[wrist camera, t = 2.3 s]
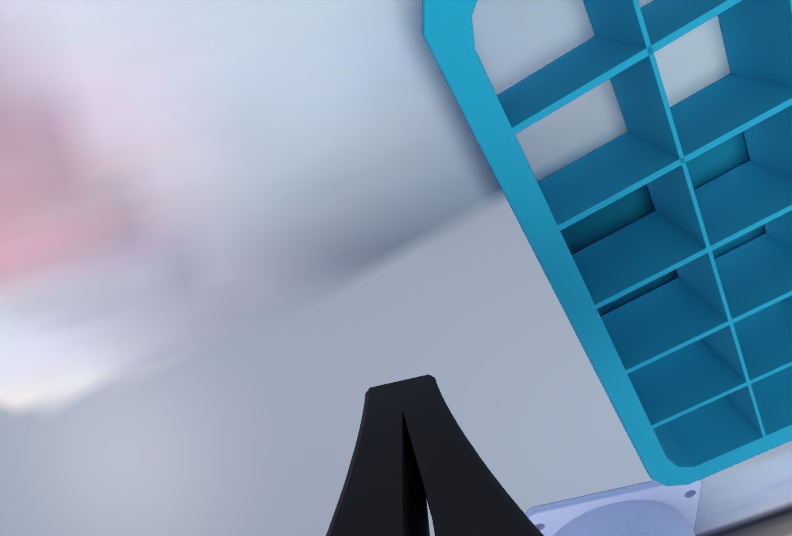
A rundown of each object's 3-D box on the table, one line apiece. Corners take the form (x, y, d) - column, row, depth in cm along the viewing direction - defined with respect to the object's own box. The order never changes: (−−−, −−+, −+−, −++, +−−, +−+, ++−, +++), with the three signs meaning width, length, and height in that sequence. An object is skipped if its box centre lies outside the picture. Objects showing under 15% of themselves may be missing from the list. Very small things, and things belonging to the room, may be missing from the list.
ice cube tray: (850, -335, 11) (1009, -431, 8) (896, 311, 21) (978, 360, 18) (385, -19, 13) (397, -17, 10) (622, 436, 23) (660, 496, 20)
